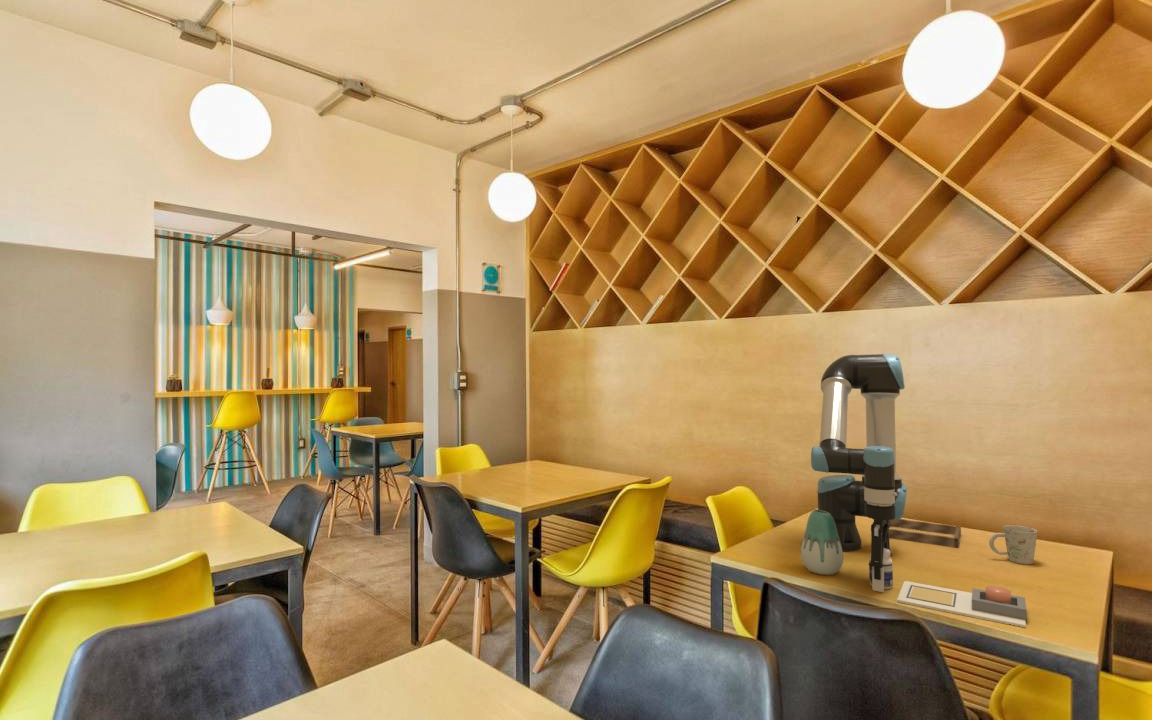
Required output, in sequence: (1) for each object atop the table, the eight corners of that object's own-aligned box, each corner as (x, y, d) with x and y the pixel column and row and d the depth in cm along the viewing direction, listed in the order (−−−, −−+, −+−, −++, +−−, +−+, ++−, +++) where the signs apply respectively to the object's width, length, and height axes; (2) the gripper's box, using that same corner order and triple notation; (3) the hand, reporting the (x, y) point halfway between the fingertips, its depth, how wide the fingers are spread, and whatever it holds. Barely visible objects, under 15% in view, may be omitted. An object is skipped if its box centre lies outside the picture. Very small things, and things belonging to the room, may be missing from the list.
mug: (1044, 566, 172) (1043, 533, 172) (997, 564, 175) (996, 531, 175) (1028, 557, 180) (1027, 525, 180) (983, 555, 183) (982, 523, 183)
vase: (841, 567, 173) (840, 507, 174) (845, 580, 162) (844, 516, 163) (800, 563, 177) (799, 504, 177) (801, 575, 166) (800, 513, 166)
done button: (985, 603, 140) (985, 590, 140) (985, 596, 144) (985, 584, 145) (1011, 608, 138) (1011, 595, 138) (1010, 601, 142) (1010, 588, 142)
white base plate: (897, 601, 147) (896, 590, 147) (904, 583, 160) (904, 572, 160) (1027, 628, 131) (1027, 615, 131) (1024, 604, 144) (1024, 592, 144)
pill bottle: (865, 582, 160) (864, 546, 161) (884, 581, 161) (883, 546, 161) (877, 590, 155) (876, 553, 155) (897, 589, 155) (897, 552, 155)
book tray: (879, 536, 204) (879, 528, 204) (887, 525, 219) (887, 517, 219) (958, 548, 191) (958, 538, 191) (960, 535, 205) (960, 526, 206)
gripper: (889, 513, 147) (890, 601, 147) (900, 497, 165) (901, 576, 164) (857, 509, 152) (858, 594, 151) (871, 494, 169) (872, 571, 169)
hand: (881, 585), depth 158 cm, fingers open, 9 cm apart
